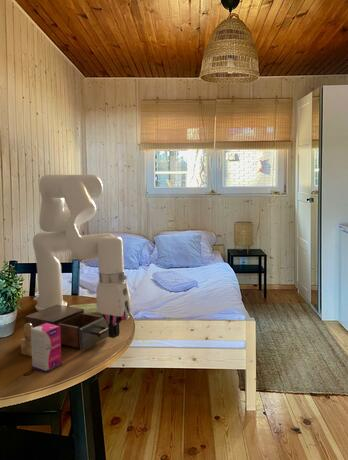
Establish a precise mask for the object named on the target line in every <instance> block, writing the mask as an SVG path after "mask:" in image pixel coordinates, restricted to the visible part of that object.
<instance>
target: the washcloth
mask: <svg viewBox="0 0 348 460" xmlns="http://www.w3.org/2000/svg"><path fill="white" fill-rule="evenodd" d="M69 307H75V308H81V309H84V313H86V314H92V315H98V311H97V306H96V303H93V302H92V303H84V304H83V303H81V304H73V305H72V304H71V305H69ZM98 316H99V315H98Z"/></svg>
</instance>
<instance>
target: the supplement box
mask: <svg viewBox="0 0 348 460" xmlns="http://www.w3.org/2000/svg"><path fill="white" fill-rule="evenodd" d="M31 342H32V356H31V363H32V364H31V365H32V369H35V370H38V371H41V372H43V373H47V372H49V371H51V370H53V369H55V368H57V367H59V366H61V365H62V344H61V338H60V326H56V325H52V324H49V323H45V324H43V325H40V326H37V327H34V328H32V329H31Z"/></svg>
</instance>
